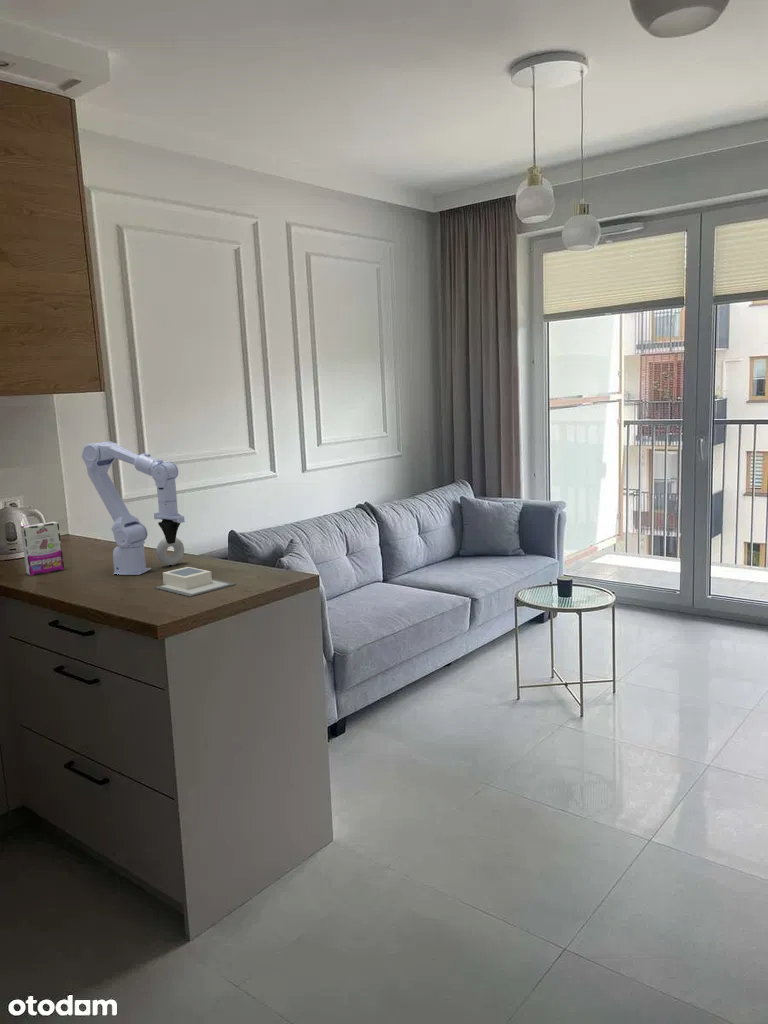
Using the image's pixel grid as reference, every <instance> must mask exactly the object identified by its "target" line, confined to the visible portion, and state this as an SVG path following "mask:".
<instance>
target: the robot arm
mask: <svg viewBox="0 0 768 1024" xmlns="http://www.w3.org/2000/svg"><path fill="white" fill-rule="evenodd" d="M81 459H82V460H83V462H84V464H85V466H86V472H87V475H88V478H89V479H90V481H91V483H92V484H93V486H94V488H95V490H96V491H97V494H98V495H99V497H100V499H101V501H102V502H103V504H104V506H105V508H106V509H107V511H108V513H109V515H110V517H111V519H112V521H113V522H114V523H113V525H112V526H111V531H112V533H113V538H114V542H115V543H116V544H117V546H115V547H114V548H113V551H112V560H113V561H112V564H113V571H114V572H113V574H112V575H114V574H117V576H120V575H121V576H139V575H142V574H145V573H146V572H148V571H151V570H152V567H147V566H146V557H145V556H146V555H145V547H144V546H145V545H144V544H145V543H146V542H145V541H146V539H147V538H148V529H147V527H146V526H145V525H144V524H143V523H142V522H141V521H140V519H139V518H138V517H136V516H135V515H132V514H131V513H130V511H129V510H128V508H127V506H126V503H125V502H124V500H123V499H122V497H121V495H120V494H119V491H118V490H117V488H116V487H115V484H114V482H113V480H112V479H111V477H110V476H109V473H108V472H109V469H110V468H111V466H112V464H113V462H114V461H115V460H120V461H121V462H125V463H127V464H131V465H132V466H133V465H134V467H135V470H136V471H138V472H141V473H143V474H145V475H147V476H150V477H152V479H153V480H154V483H155V486H156V492H157V504H158V505H157V506H158V512H154V513H153V516H154V518H153V519H154V520H161V521H159V522H158V523H157V524H158V526H159V527H160V529H161V531H162V533H163V535H164V538H166V541H167V544H172V543H175V540H176V538H177V534H178V529H179V528H180V525H181V523H182V524H183V523H185V515H182V514H179V511H178V498H177V486H176V485H177V484H176V479H177V477H178V475H179V468H178V466H177V464H175V463H174V462H172V461H164V460H163V459H161V458H155V457H153V456H151V453H148V452H146V453H141V454H137V453H135V452H133V451H131V450H129V449H126V448H125V447H122V446H120V445H119V444H118V443H117V442H113V441H110V440H107V441H102V442H88V443H86V444H85V445H84V446H83V448H82V453H81ZM118 574H119V575H118ZM114 576H115V575H114Z"/></svg>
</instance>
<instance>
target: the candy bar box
mask: <svg viewBox="0 0 768 1024" xmlns="http://www.w3.org/2000/svg"><path fill="white" fill-rule="evenodd" d="M20 534H21V542H22V548H23V557H24V563H25V570H26V571H25V572H26V574H27V575H29V576H30V577H31V576H36V575H37V576H38V575H42V574H43V575H44V574H49V573H53V572H59V570H60V571H64V570H65V563H64V556H63V555H64V554H63V548H62V542H61V540H62V539H61V531H60V524H59V522H57V521H49V522H48V521H47V522H40V523H35V524H28V525H21V526H20Z"/></svg>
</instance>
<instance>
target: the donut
mask: <svg viewBox="0 0 768 1024" xmlns="http://www.w3.org/2000/svg"><path fill="white" fill-rule="evenodd" d="M170 547H172V548H173V553H172V554H171V555H168V552H167V551H168V548H170ZM155 553H156V559H157V560H158V561H159V562H160V563H161V564H162V565H164V566H168V567H170V566H169V565H172V566H175V565H177V564H178V563H179V562H181V561H182V559H183V558H184V557H183V556H184V553H185V546H184V543H183V542H182V540H181V539H179V538H178V537H176V540H175V543H172V544H167V541H166V538H165V537H164V538H163V539H161V540H160V541H159V542H158V544H157V546H156V551H155Z"/></svg>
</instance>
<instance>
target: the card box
mask: <svg viewBox="0 0 768 1024" xmlns="http://www.w3.org/2000/svg"><path fill="white" fill-rule="evenodd" d="M212 575H213V574H212V571H211V570H210V571H209V570H206V569H200V568H196V567H190V566H185V567H181V568H176V569H172V570H169V571H164V572H162V580H163V581H162V582H163V583H162V584H163V585H165V584H166V585H170V586H174V587H178V588H182V589H186V590H187V589H190V588H194V587H198V586H202V585H206V584H210V583H212V579H213V578H212Z"/></svg>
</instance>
